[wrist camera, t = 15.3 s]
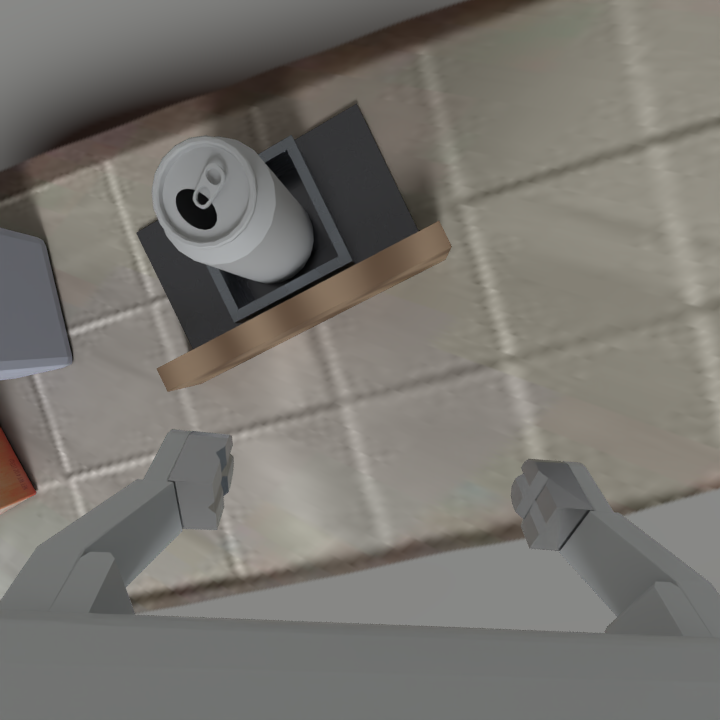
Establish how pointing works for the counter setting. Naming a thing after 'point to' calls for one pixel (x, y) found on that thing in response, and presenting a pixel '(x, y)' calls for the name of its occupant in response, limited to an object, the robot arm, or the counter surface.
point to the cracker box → (12, 478)
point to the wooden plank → (309, 308)
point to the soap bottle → (29, 309)
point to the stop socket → (326, 212)
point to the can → (231, 210)
